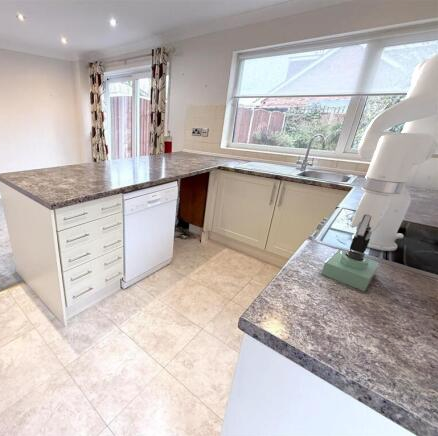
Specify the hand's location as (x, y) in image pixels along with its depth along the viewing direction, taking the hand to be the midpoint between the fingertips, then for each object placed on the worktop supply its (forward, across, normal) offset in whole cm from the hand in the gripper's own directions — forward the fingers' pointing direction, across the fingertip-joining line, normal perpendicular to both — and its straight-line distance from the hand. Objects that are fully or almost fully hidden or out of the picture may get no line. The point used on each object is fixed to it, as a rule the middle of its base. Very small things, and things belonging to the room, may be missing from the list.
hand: (357, 250), depth 68 cm
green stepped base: (+8, 0, 0) cm, 8 cm away
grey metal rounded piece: (+3, 0, 0) cm, 3 cm away
